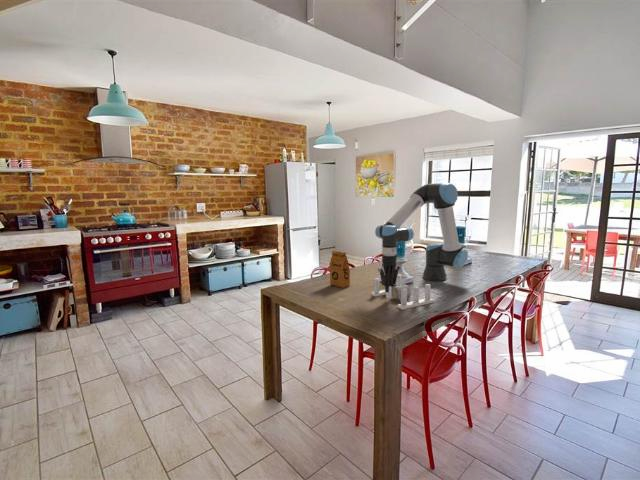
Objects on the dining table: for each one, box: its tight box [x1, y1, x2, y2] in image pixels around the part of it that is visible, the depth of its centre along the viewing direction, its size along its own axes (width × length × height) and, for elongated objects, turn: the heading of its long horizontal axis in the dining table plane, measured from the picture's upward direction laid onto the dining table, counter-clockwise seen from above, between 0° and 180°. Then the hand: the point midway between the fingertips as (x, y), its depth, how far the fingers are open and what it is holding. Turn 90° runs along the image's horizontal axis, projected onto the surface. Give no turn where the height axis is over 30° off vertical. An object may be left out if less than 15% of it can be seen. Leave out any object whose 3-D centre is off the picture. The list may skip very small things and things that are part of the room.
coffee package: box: [329, 250, 351, 289], centre depth 205 cm, size 10×12×22 cm
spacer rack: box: [371, 273, 435, 310], centre depth 179 cm, size 21×27×10 cm
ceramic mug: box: [391, 284, 412, 302], centre depth 178 cm, size 11×8×8 cm
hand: (388, 297), depth 176 cm, fingers closed
